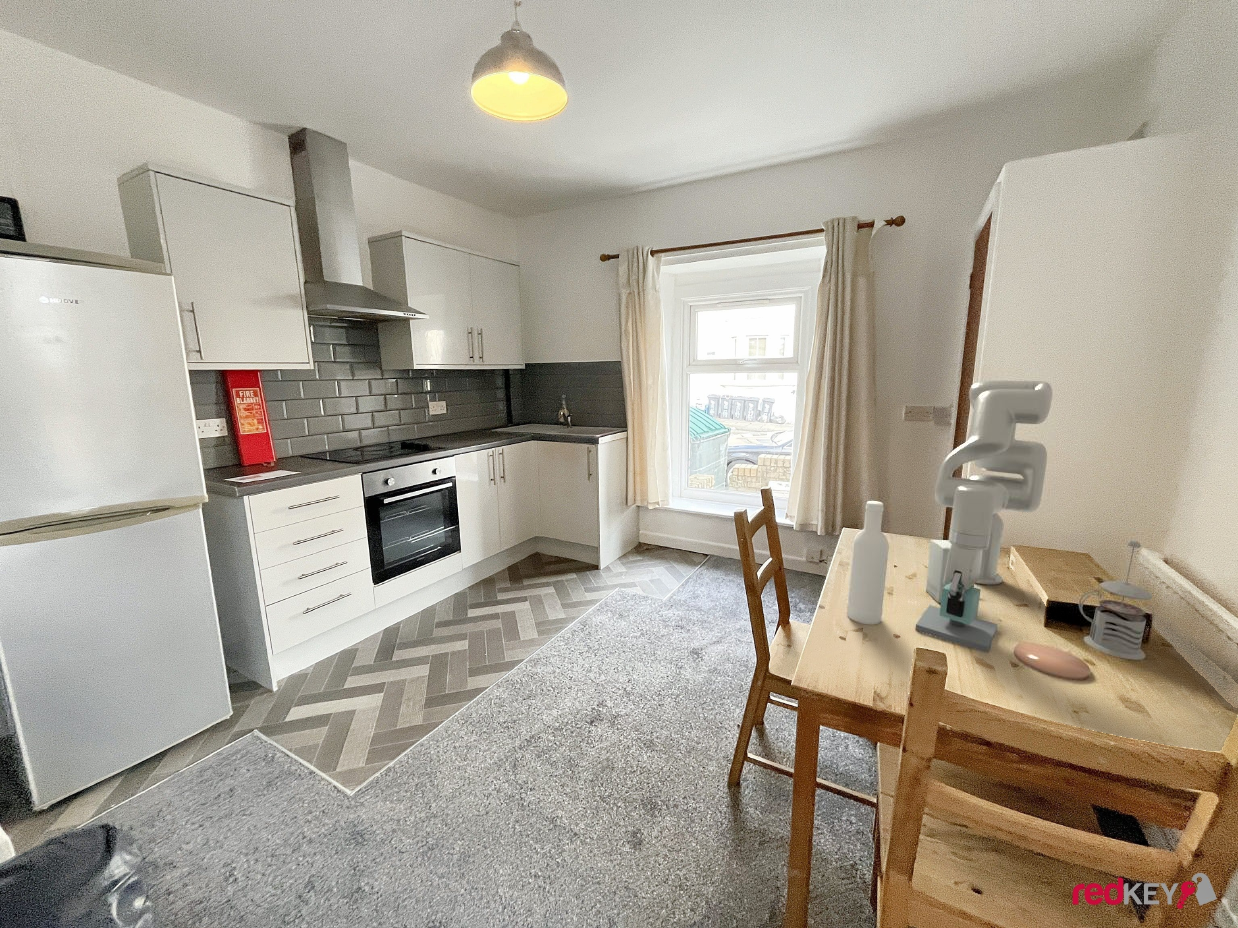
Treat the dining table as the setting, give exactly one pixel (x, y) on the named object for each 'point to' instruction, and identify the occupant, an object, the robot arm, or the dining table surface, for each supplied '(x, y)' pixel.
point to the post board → (958, 630)
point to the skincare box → (937, 567)
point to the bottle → (868, 568)
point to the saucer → (1052, 661)
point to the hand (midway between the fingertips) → (958, 609)
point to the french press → (1118, 619)
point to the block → (969, 607)
